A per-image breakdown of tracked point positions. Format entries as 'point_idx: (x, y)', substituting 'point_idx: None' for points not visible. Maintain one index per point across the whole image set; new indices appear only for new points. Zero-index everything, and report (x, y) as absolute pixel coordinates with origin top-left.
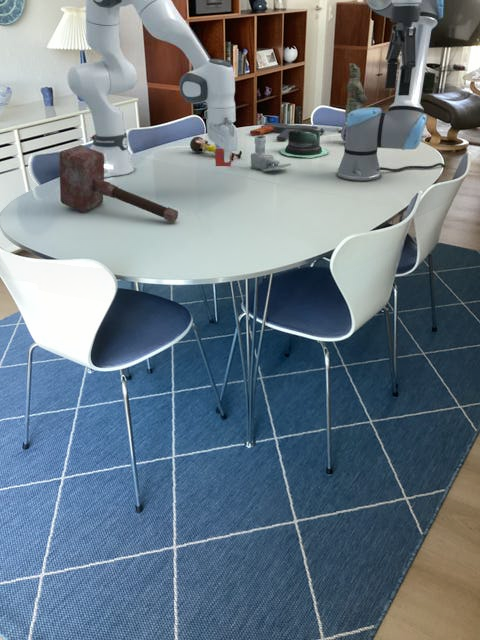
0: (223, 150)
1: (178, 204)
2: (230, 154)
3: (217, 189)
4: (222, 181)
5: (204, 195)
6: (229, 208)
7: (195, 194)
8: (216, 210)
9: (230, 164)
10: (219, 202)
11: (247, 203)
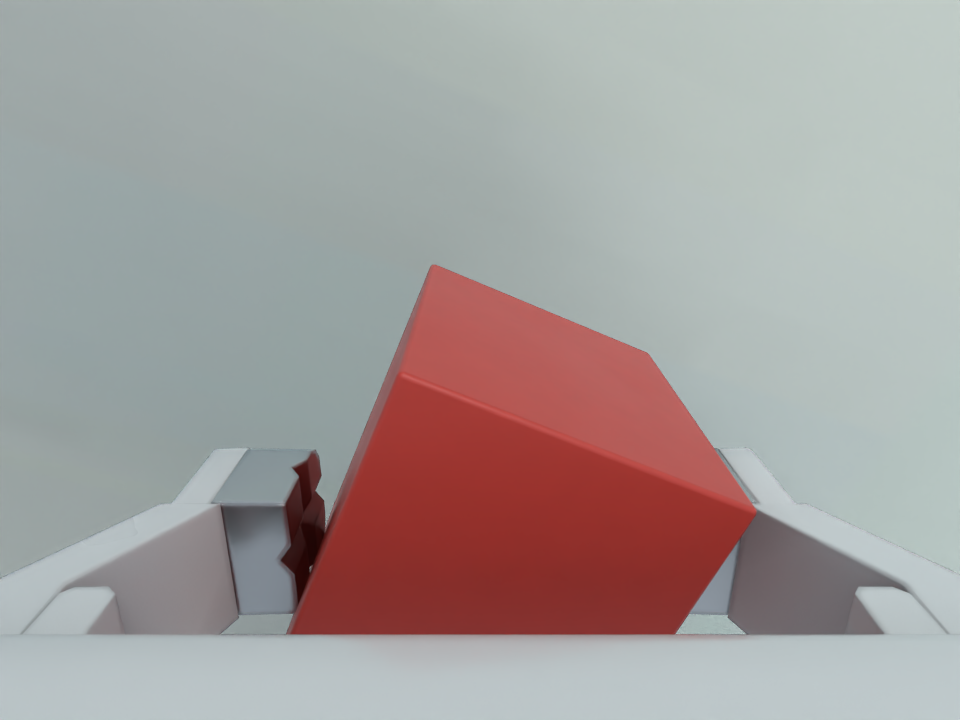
0: (538, 633)
1: None
2: (722, 464)
3: (324, 313)
4: (32, 159)
5: None
6: (932, 399)
7: None
8: (904, 508)
9: (655, 369)
10: (725, 424)
11: (918, 186)
